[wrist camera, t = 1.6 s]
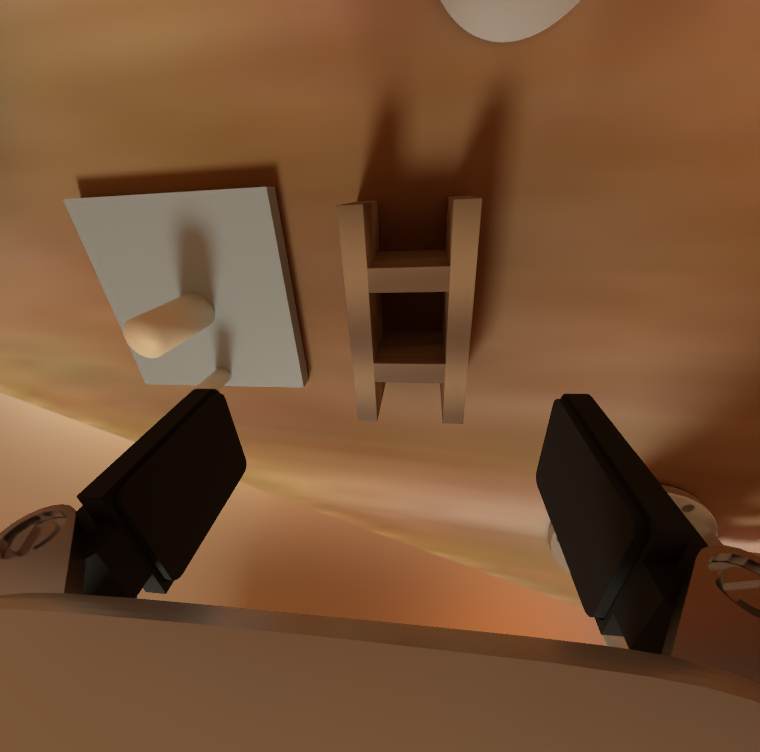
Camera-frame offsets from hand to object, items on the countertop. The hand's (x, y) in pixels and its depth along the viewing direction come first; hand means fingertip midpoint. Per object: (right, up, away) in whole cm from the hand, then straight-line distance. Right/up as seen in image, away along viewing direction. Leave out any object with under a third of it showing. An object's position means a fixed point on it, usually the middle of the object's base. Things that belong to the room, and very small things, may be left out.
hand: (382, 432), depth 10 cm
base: (-12, +7, +14) cm, 20 cm away
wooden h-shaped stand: (+2, +7, +12) cm, 14 cm away
